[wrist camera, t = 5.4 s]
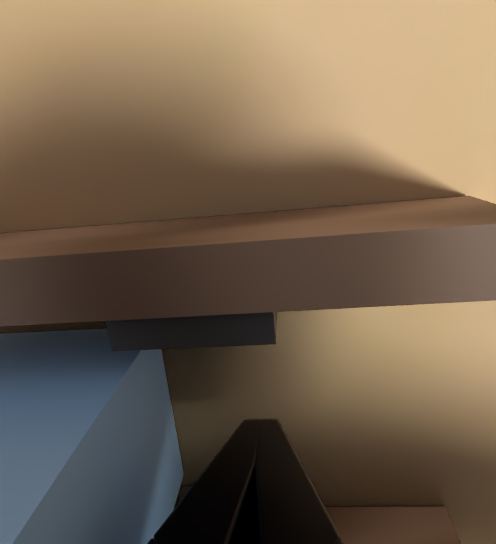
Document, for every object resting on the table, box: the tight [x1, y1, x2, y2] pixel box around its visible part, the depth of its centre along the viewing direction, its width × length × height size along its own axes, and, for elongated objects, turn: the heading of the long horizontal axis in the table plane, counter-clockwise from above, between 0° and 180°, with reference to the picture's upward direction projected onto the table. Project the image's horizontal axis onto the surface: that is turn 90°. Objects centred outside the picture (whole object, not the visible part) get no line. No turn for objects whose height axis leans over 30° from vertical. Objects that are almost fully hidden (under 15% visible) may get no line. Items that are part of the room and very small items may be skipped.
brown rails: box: [0, 196, 496, 544], centre depth 9 cm, size 12×9×2 cm
